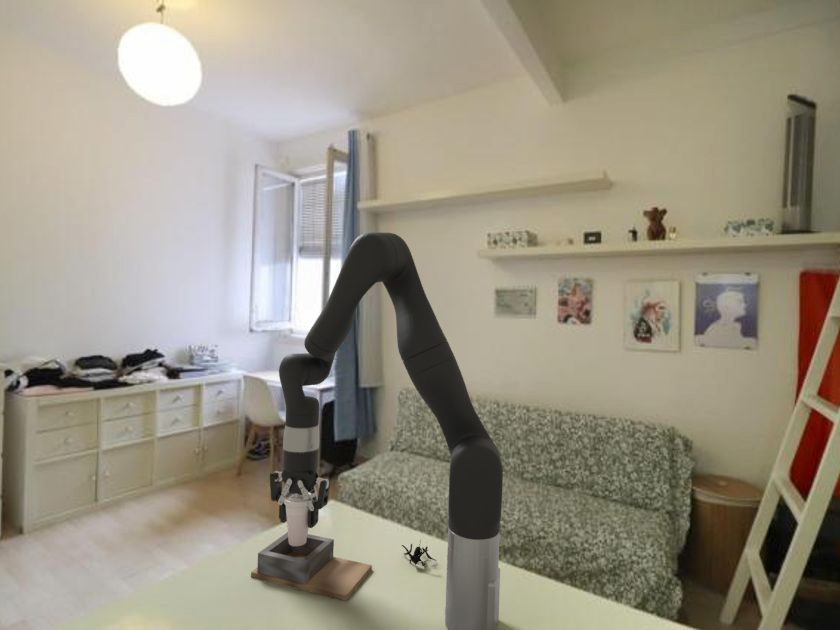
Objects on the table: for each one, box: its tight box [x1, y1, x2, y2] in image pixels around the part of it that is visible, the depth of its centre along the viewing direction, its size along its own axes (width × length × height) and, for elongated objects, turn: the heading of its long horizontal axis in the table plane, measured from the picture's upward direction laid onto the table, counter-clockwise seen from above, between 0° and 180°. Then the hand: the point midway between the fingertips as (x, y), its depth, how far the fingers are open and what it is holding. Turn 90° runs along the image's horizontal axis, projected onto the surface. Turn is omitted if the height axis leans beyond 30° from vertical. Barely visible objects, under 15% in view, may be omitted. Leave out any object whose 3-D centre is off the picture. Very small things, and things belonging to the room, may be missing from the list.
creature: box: [401, 539, 437, 567], centre depth 105 cm, size 8×5×8 cm
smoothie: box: [284, 492, 314, 546], centre depth 100 cm, size 6×6×14 cm
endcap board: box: [250, 531, 373, 602], centre depth 98 cm, size 22×12×5 cm, turn 72°
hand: (298, 523), depth 99 cm, fingers closed on smoothie, 6 cm apart
